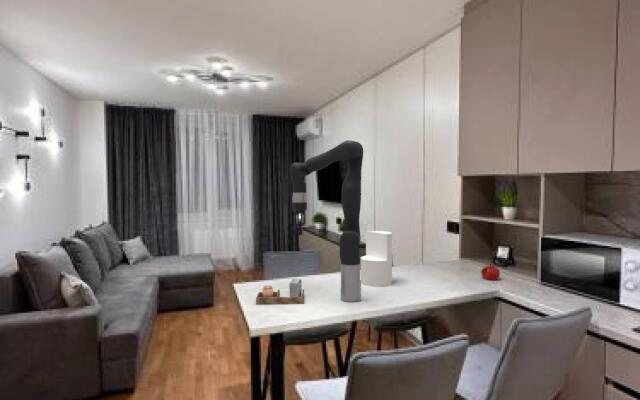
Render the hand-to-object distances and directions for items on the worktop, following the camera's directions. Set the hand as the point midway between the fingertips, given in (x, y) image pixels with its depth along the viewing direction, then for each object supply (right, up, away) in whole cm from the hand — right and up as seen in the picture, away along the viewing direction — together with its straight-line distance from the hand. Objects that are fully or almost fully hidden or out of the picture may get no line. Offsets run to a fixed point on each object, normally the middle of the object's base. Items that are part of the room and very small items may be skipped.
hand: (300, 234), depth 195 cm
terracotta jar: (-14, -29, -20) cm, 38 cm away
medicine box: (-1, -30, -14) cm, 33 cm away
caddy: (-8, -30, -18) cm, 36 cm away
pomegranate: (+109, -28, +21) cm, 114 cm away
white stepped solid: (+42, -28, +15) cm, 53 cm away
